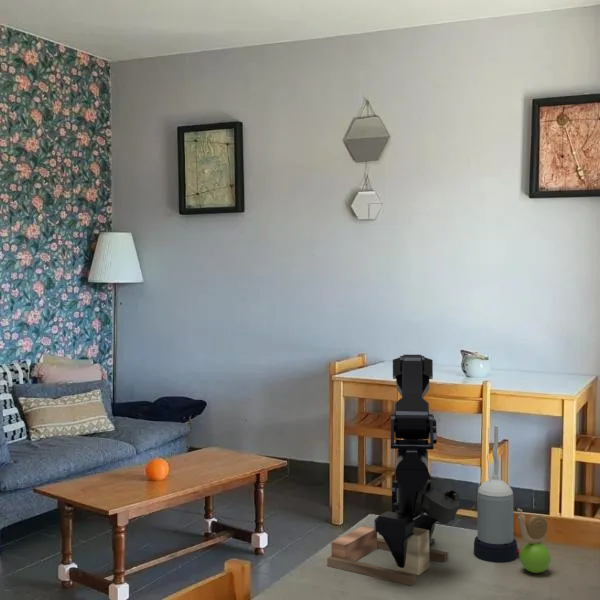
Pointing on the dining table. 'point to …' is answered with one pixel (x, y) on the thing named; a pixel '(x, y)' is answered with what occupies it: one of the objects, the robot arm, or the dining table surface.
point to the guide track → (364, 543)
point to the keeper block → (417, 552)
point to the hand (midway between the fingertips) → (413, 559)
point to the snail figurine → (534, 543)
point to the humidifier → (495, 517)
